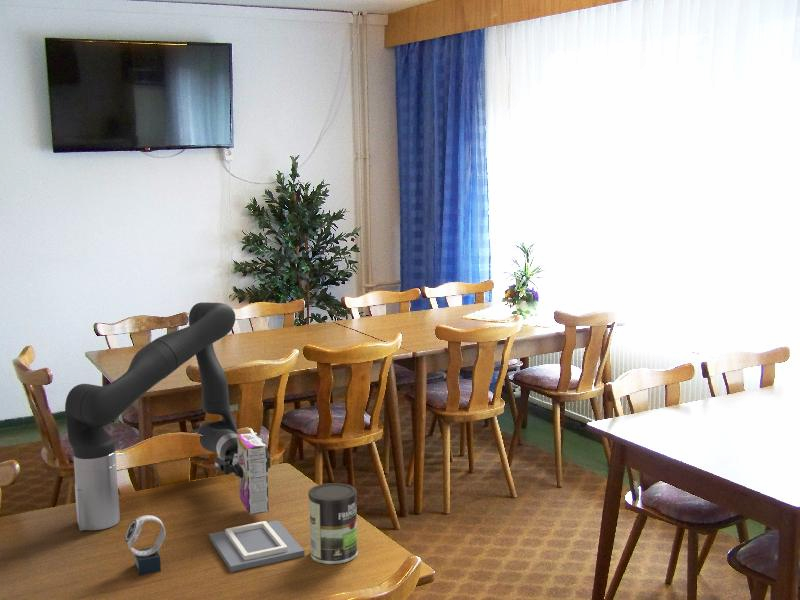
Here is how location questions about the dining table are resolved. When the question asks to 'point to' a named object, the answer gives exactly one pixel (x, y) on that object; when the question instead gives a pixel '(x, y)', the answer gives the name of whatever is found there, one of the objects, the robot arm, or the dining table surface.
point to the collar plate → (255, 545)
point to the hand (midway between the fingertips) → (253, 471)
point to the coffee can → (333, 523)
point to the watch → (147, 557)
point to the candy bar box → (253, 473)
